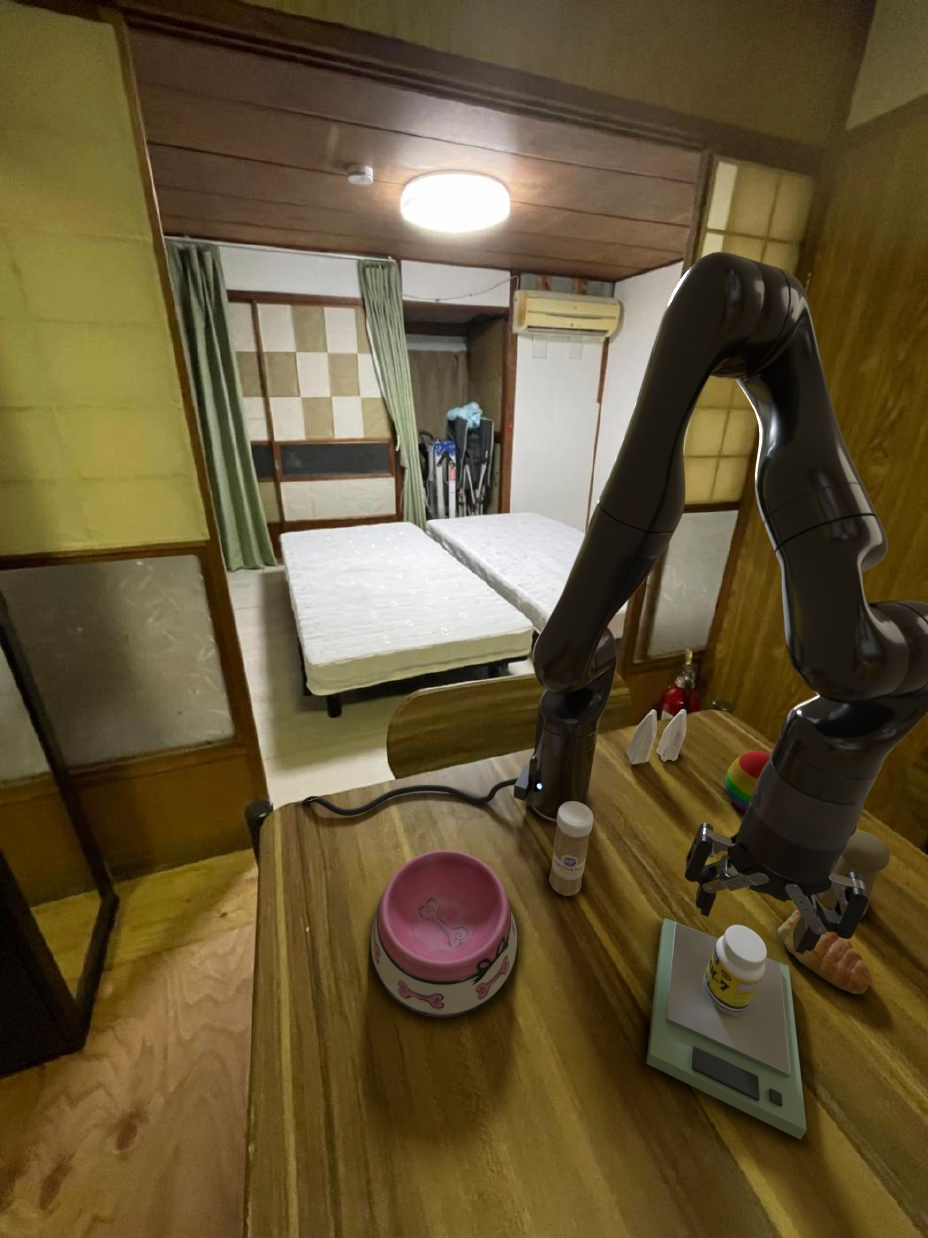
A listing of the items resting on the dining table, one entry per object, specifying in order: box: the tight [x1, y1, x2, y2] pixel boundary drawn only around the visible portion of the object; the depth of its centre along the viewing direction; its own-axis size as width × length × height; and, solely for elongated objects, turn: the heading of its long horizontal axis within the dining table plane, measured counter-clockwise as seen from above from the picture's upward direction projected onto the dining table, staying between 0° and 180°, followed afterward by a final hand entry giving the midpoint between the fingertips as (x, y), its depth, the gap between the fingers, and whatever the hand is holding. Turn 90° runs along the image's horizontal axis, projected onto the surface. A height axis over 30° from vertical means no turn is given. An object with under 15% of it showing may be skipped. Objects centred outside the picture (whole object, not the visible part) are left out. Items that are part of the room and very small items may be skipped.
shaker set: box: [626, 708, 687, 765], centre depth 93 cm, size 12×4×11 cm, turn 107°
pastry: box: [777, 909, 874, 995], centre depth 62 cm, size 9×7×4 cm
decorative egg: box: [724, 750, 771, 812], centre depth 84 cm, size 8×8×10 cm
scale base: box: [646, 917, 808, 1140], centre depth 57 cm, size 14×16×2 cm
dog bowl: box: [369, 849, 518, 1019], centre depth 63 cm, size 18×19×7 cm
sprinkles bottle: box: [548, 801, 594, 897], centre depth 69 cm, size 5×5×13 cm
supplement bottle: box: [705, 924, 768, 1011], centre depth 56 cm, size 5×5×8 cm
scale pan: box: [665, 922, 790, 1078], centre depth 57 cm, size 12×12×1 cm
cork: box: [816, 829, 891, 917], centre depth 68 cm, size 6×6×11 cm
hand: (749, 926), depth 52 cm, fingers open, 8 cm apart
